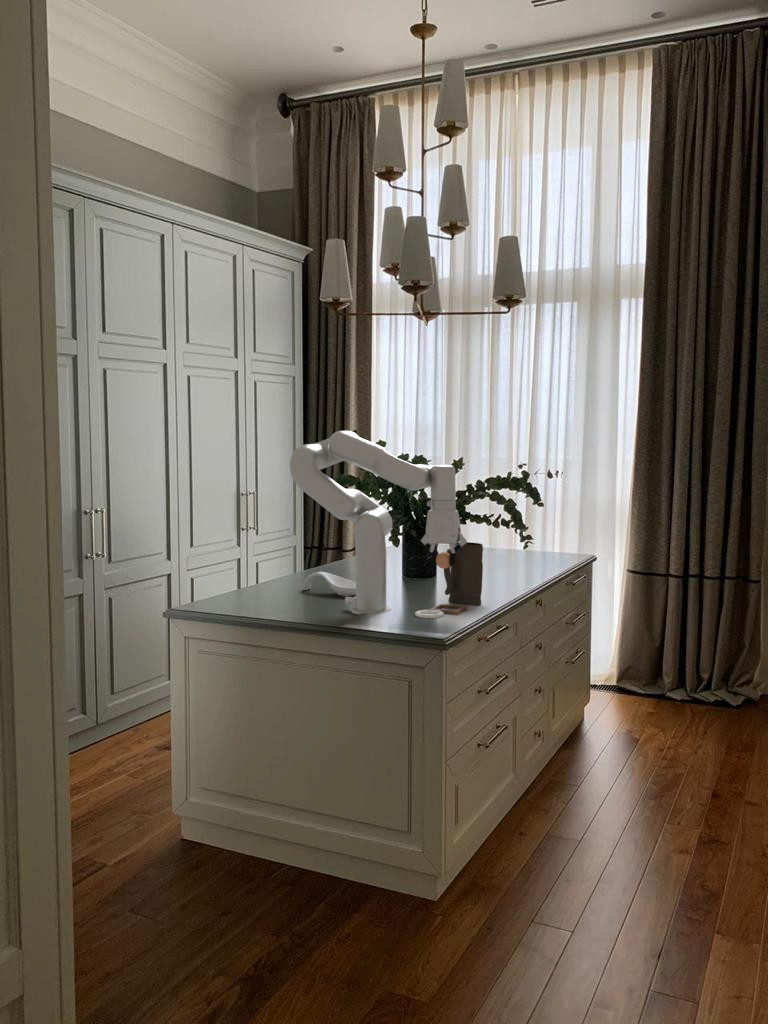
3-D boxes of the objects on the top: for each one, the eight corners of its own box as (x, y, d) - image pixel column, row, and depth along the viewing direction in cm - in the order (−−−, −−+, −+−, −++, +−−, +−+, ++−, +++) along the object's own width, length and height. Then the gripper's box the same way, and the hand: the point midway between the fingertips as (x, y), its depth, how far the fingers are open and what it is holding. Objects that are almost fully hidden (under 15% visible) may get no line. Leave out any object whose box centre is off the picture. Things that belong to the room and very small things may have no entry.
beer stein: (461, 599, 307) (462, 540, 306) (488, 603, 301) (489, 542, 299) (434, 606, 296) (435, 544, 294) (462, 610, 289) (462, 547, 287)
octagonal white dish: (412, 620, 274) (412, 613, 274) (421, 615, 282) (421, 608, 282) (437, 622, 271) (437, 616, 271) (446, 617, 279) (446, 611, 278)
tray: (430, 615, 281) (430, 609, 281) (440, 610, 289) (440, 603, 289) (457, 618, 278) (458, 611, 277) (467, 612, 286) (467, 606, 286)
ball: (433, 569, 278) (433, 552, 278) (439, 566, 283) (439, 550, 282) (448, 570, 276) (448, 553, 276) (454, 567, 280) (454, 551, 280)
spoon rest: (371, 594, 318) (371, 573, 317) (354, 599, 307) (354, 578, 307) (313, 588, 329) (313, 568, 328) (295, 593, 318) (295, 573, 318)
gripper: (412, 506, 278) (413, 565, 280) (465, 507, 271) (465, 568, 272) (422, 504, 285) (423, 562, 286) (474, 505, 277) (474, 565, 279)
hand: (444, 564), depth 279 cm, fingers closed on ball, 4 cm apart
